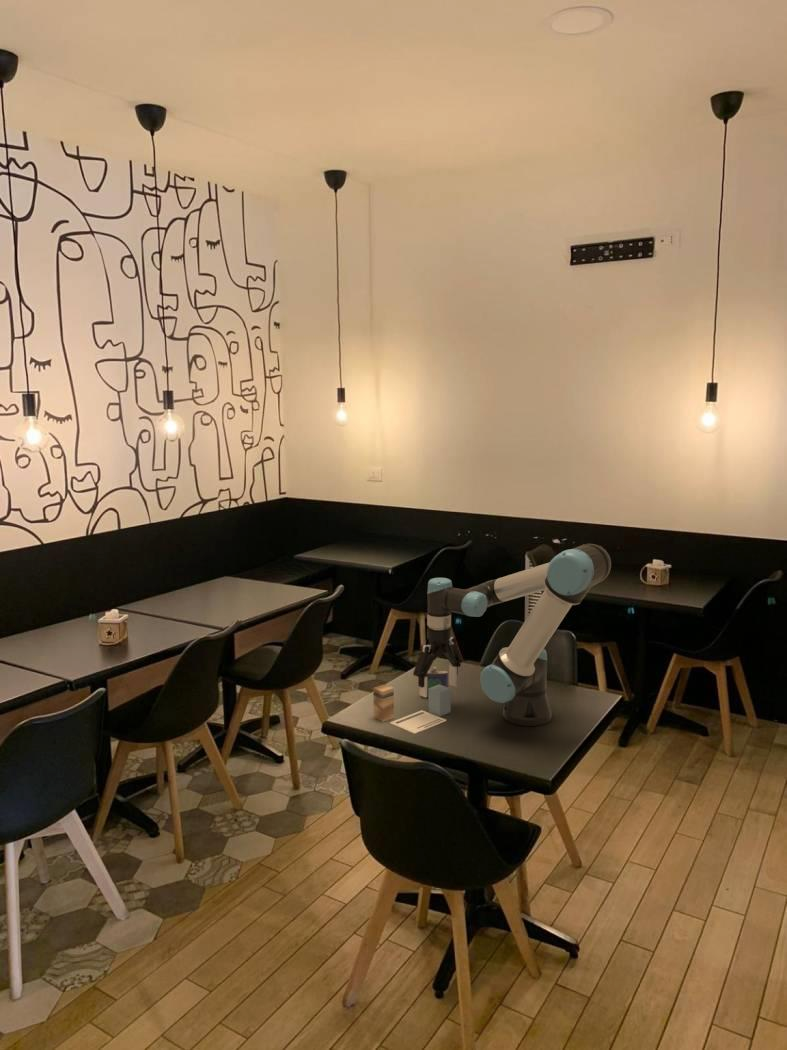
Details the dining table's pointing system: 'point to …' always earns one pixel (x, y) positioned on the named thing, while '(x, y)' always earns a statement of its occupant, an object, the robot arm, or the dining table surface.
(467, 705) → the dining table surface
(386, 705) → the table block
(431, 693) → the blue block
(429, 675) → the flask
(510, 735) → the dining table surface
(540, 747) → the dining table surface
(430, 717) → the menu card
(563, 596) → the robot arm
